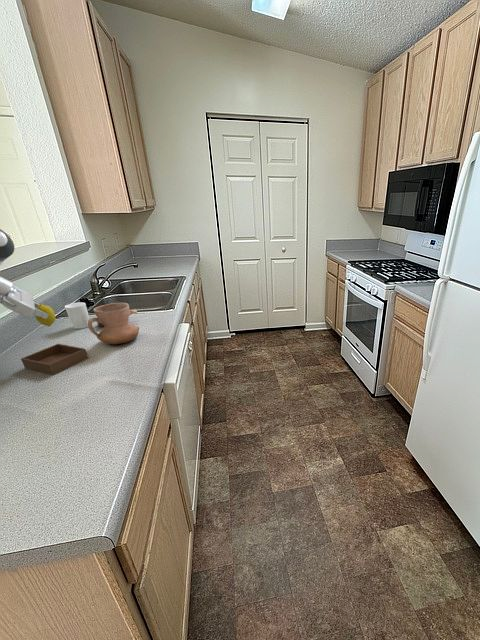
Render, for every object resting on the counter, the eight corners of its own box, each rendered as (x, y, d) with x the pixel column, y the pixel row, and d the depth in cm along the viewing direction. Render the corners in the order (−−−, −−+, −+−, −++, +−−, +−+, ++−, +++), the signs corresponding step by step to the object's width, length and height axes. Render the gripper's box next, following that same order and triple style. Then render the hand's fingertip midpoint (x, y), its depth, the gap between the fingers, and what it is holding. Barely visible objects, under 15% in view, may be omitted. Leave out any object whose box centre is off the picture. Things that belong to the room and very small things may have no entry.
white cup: (70, 326, 150) (62, 305, 146) (89, 321, 155) (83, 301, 151) (74, 330, 145) (66, 309, 141) (94, 326, 150) (87, 304, 145)
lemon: (49, 323, 120) (41, 301, 116) (62, 324, 119) (54, 302, 115) (35, 328, 115) (26, 306, 111) (49, 329, 114) (40, 307, 110)
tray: (25, 368, 114) (20, 358, 113) (61, 352, 125) (58, 343, 124) (53, 375, 110) (49, 365, 108) (88, 358, 121) (85, 348, 119)
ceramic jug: (139, 330, 144) (130, 298, 138) (147, 340, 134) (138, 307, 127) (92, 340, 135) (81, 306, 129) (96, 352, 125) (85, 317, 118)
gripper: (4, 289, 98) (54, 314, 108) (5, 278, 113) (50, 300, 122) (-9, 307, 98) (43, 330, 108) (-6, 293, 112) (39, 314, 122)
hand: (46, 314), depth 115 cm, fingers closed on lemon, 5 cm apart
